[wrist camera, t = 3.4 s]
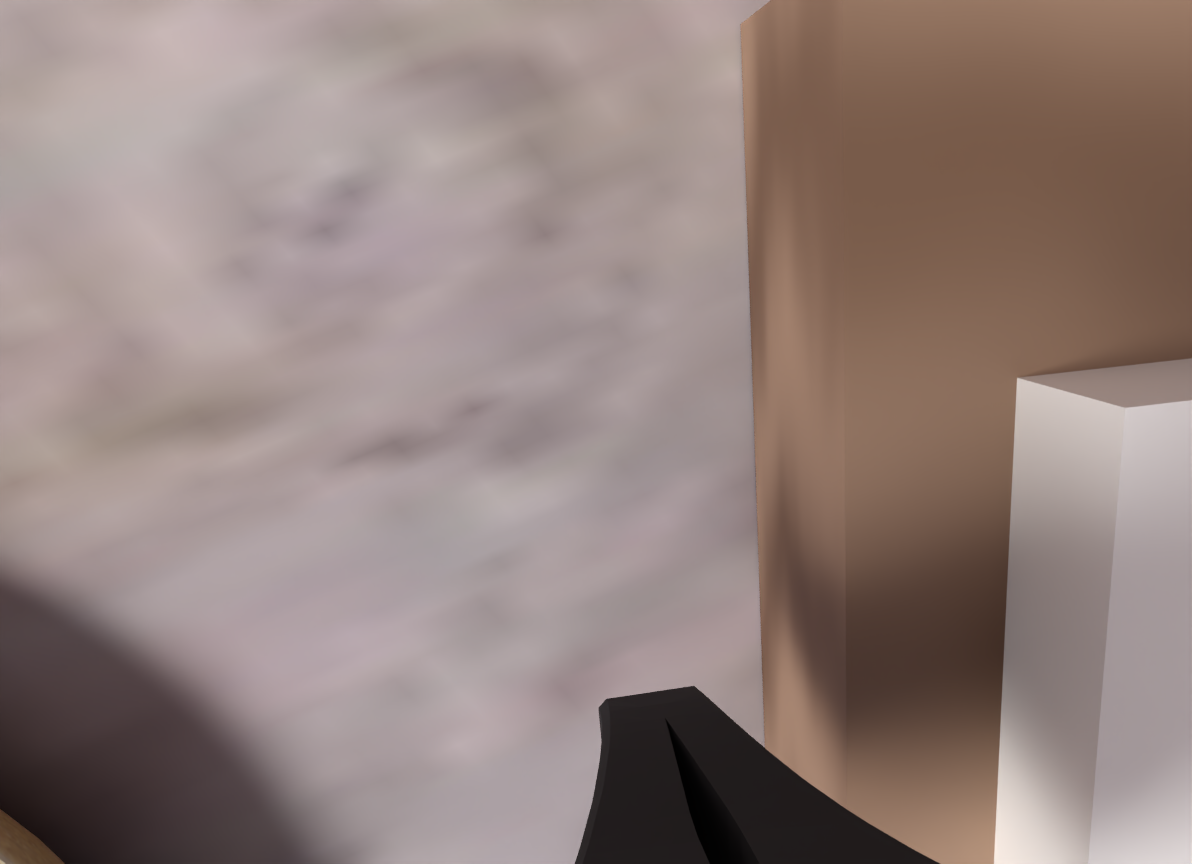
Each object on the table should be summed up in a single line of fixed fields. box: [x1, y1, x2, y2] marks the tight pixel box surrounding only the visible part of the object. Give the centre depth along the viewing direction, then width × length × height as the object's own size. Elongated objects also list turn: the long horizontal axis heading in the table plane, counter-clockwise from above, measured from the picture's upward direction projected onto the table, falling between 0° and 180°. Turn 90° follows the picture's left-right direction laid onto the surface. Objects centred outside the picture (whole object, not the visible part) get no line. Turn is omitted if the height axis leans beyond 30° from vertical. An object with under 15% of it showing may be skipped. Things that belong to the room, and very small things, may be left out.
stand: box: [741, 0, 1192, 864], centre depth 15 cm, size 20×14×4 cm
